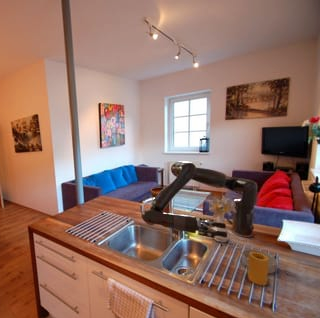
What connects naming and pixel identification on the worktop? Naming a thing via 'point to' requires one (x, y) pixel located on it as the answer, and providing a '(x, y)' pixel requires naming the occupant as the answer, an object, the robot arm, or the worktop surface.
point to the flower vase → (221, 214)
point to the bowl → (272, 260)
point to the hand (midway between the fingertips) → (226, 230)
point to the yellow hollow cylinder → (258, 268)
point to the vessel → (154, 193)
